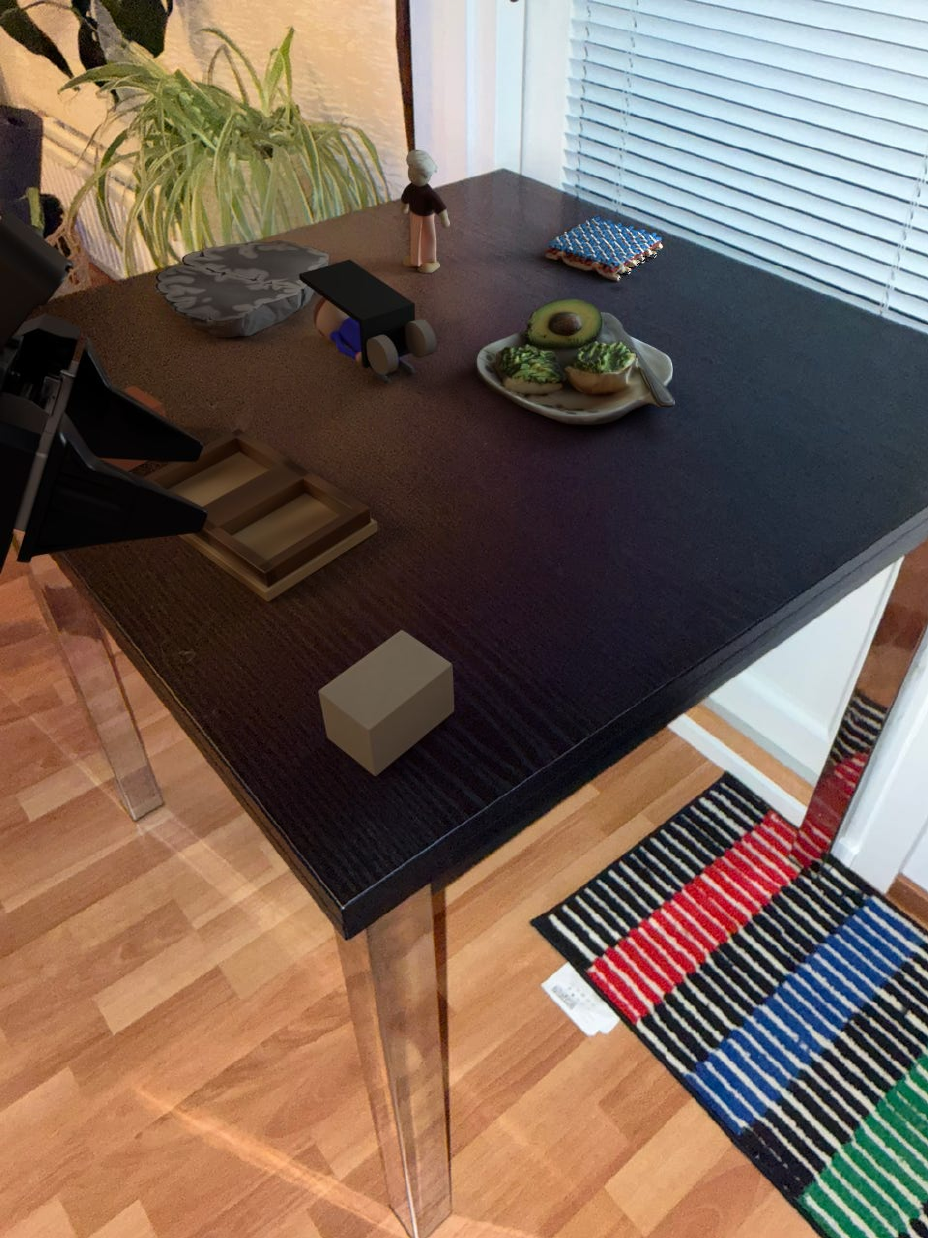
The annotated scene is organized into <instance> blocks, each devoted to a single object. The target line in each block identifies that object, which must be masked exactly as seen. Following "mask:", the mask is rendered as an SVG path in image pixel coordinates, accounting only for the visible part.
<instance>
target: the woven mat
mask: <svg viewBox="0 0 928 1238" xmlns="http://www.w3.org/2000/svg"><path fill="white" fill-rule="evenodd" d="M600 218H601V217H600V216H595V217H594V218H591V219H586V220H585V223H583V224H580V223H579V224H577V227H575V228H572V229H571V230H569V231H564V232H563V234H562V235H559V236H556V238H555V239H553V240H549V243H548V245H547V246H548V248H547V249H545V252H546V254H545V258H546V259H548V260H549V259H551V260H556V261H558V260H560V261H563V263H564V264H567V266H571V267H574V268H576V269H579V270H583V271H585V272H586V271H593V272H597V273H598V274H599V275H601V274H602V275H601V276H603V278H607V279H609V280H613V281H616V282H619V281H620V279H621V275H622V274H623V273H625V274H627V275H630V274H631V273H632V268H629V267H633V268H634V267H637V266H639V264H644V263H645V261H644V262H640V261H639V260H642V261H643V260H644V259H645V260H646V258H649V257H650V258H653V259H655V258H656V257H657V256H658V253H657V251H652V249H655V250H660V251H662V249H663V247H664V245H663V244H662V240H663V239H662V237H661V236H657V233H656V232H652V233H649V232H648V233H645V231H646V230H645V229H640V230H637V229H636V230H635V229H634V226H632V225H630V226H628V227H627V226H624V227H623V226H622V225H623V223H621V222H618V223H611V222H612V219H606V220H600ZM652 254H654V255H655V254H657V255H656V256H655V257H654V256H650V255H652ZM643 256H644V257H643ZM645 256H647V257H645ZM637 259H639V260H637ZM638 263H639V264H638ZM637 264H638V265H637ZM576 266H577V267H576ZM579 267H580V268H579ZM582 268H583V269H582ZM625 271H626V272H629V271H631V272H629V273H626V272H625ZM620 274H621V275H620ZM604 275H606V276H604ZM608 276H609V277H608ZM619 278H620V279H619Z"/></svg>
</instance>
